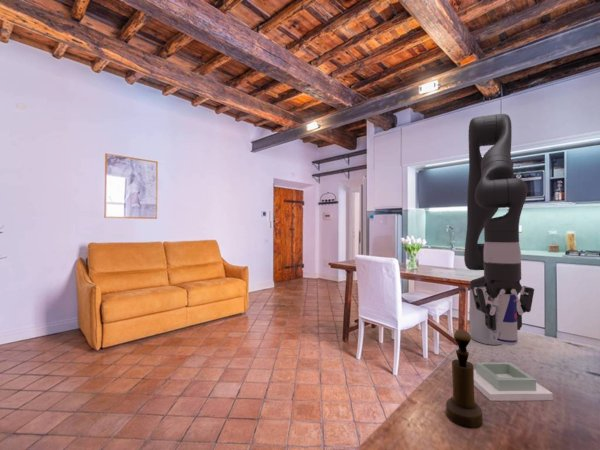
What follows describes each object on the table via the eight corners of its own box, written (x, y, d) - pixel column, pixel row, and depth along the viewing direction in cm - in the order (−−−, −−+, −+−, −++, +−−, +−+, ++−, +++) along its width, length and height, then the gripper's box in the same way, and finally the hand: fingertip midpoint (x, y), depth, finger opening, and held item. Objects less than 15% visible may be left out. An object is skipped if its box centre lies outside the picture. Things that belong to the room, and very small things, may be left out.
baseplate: (463, 375, 76) (462, 360, 76) (516, 375, 76) (516, 359, 76) (490, 400, 65) (490, 383, 65) (552, 400, 65) (552, 382, 65)
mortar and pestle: (450, 403, 64) (448, 322, 64) (484, 415, 60) (482, 329, 60) (442, 419, 59) (441, 331, 59) (479, 433, 55) (477, 338, 55)
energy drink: (523, 345, 67) (522, 294, 68) (500, 345, 68) (499, 294, 68) (507, 337, 73) (506, 289, 73) (486, 337, 73) (485, 290, 73)
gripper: (519, 258, 74) (521, 323, 74) (463, 259, 74) (465, 324, 74) (544, 261, 67) (545, 334, 66) (481, 262, 67) (483, 335, 67)
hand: (503, 328), depth 70 cm, fingers closed on energy drink, 5 cm apart
